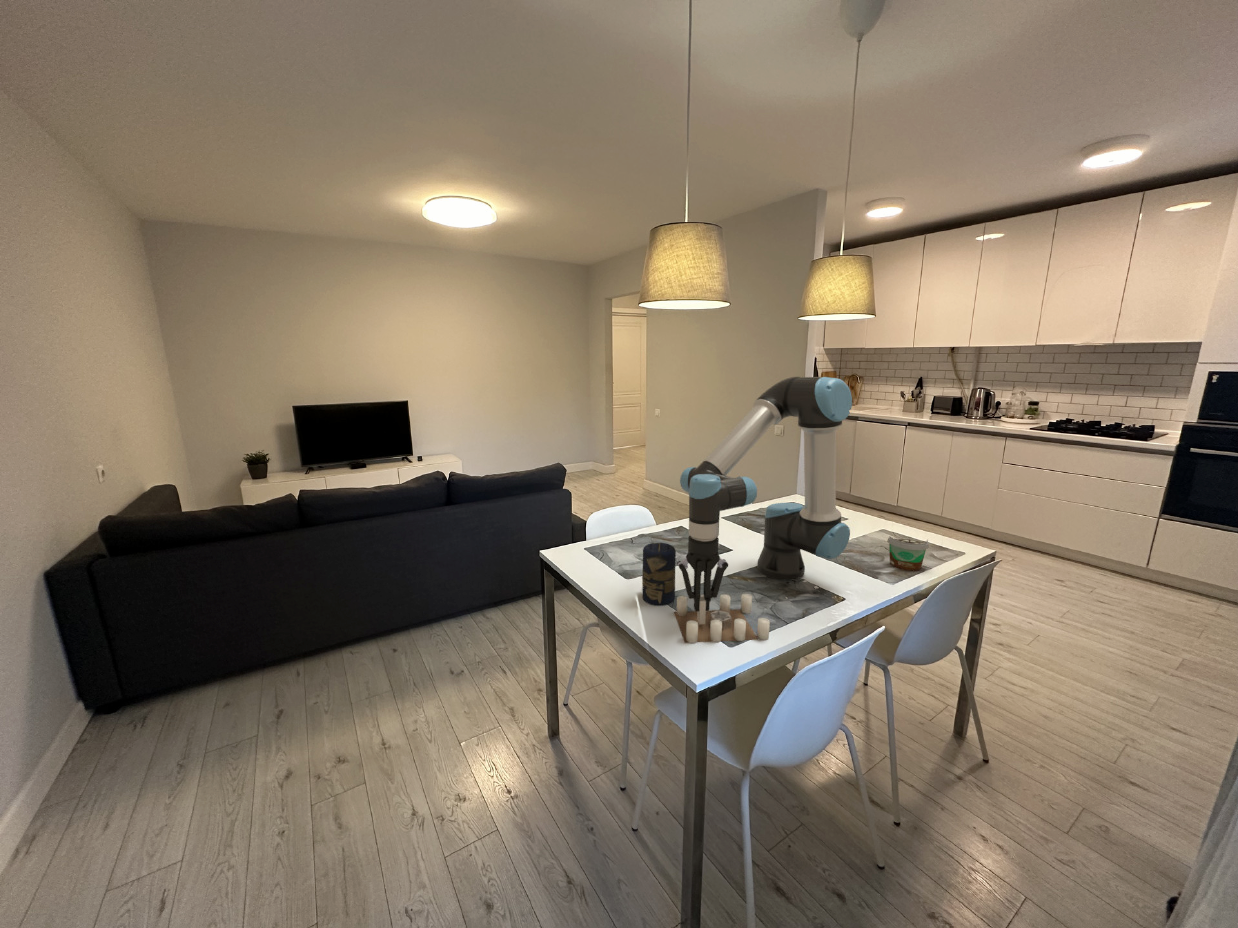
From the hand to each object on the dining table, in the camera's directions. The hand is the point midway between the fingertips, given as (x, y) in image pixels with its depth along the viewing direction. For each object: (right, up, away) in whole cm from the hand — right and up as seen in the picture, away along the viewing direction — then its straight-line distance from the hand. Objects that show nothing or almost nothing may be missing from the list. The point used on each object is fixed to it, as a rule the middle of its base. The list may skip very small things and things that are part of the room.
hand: (701, 621), depth 125 cm
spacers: (+5, -1, +1) cm, 5 cm away
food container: (+76, +6, +37) cm, 84 cm away
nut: (+5, -1, 0) cm, 5 cm away
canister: (-10, +1, +16) cm, 18 cm away
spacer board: (+7, -2, +1) cm, 7 cm away
